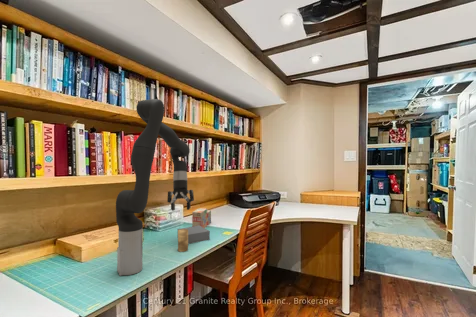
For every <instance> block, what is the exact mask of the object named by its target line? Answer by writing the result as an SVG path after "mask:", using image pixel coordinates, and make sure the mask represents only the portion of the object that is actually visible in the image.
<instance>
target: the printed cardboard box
mask: <svg viewBox="0 0 476 317" xmlns="http://www.w3.org/2000/svg"><path fill="white" fill-rule="evenodd" d="M191 215H192V217H191V227H193V226H201V227H203V228H205V229H206V228H207V227H208V226H209V225H210V224H212V210H211V209H210V210H209V209H207V208H201V207H200V208H197V209H195V210H194V211H192V214H191ZM207 225H208V226H207Z"/></svg>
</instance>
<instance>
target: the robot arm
mask: <svg viewBox="0 0 476 317" xmlns="http://www.w3.org/2000/svg"><path fill="white" fill-rule="evenodd" d="M136 113H137V114H138V116H139V118H140V119H141V120H142V121H143V122H145V124H146V126H145V128H144V129H143V131H142V132H141V133H140V135H139V136H138V137H137V138H136V139H135V140H134V143H133V145H132V149H131V153H130V162H131V165H132V169H133V171H134V174H135V185H134V189H124V190H122V191H121V190H120V192H119V193H118V194H117V196H116V200H115V214H116V215H115V216H116V217H115V219H116V224H117V227H118V244H117V245H118V247H117V249H116V250H117V251H116V252H117V254H116V260H117V263H116V270H117V273H118V275H119V277H120V276H132V275H135V274H138V273H140V272H141V271H142V270H143V265H144V264H143V254H144V253H143V250H144V249H143V248H144V246H143V236H144V235H143V234H144V232H143V231H144V230H143V229H144V228H143V226H144V223H143V220H142V219H140V218H138V217H137V216H136V215H135V214H141V213H143V211H144V210H145V209H146V207H147V205H148V200H149V192H150V191H149V189H150V181H151V180H150V179H151V173H152V169H153V168H152V167H153V163H154V158H155V153H156V147H157V142H158V136H160V138H161V139H162V141H164V143H165V144H166V145H167V146H168V147H169V148H170V150H169V152H170V157H171V159H172V163H173V165H172V166H173V175H172V176H173V178H172V179H173V180H172V183H173V184H172V186H173V188H172V189H173V191H170V190H169V191H167V203H170V210H171V211H172V212H174V211H175V210H176V204H175V202H176V201H177V200H180V199H181V200H182V199H184V200H185V201H186V210H187V211H188V210H191V203H192V202H194V200H195V197H194V190H193V189H189V190H188V171H187V170H188V169H187V168H188V167H187V161H186V160H185V161H184V160H180V158H185V157H188V156H190V152H191V151H190V150H191V149H190V146H189V145H188V144H187V143H186V142H184V141H183V140H182V139H181V138H179V136H178V135H177V133H176V132H175V131H174V130H173V128H171V127H170V126H169V125H167V124H165V123H164V122H163V120H164V116H165V104H164V102H163V101H162V100H161V99H159V98H151V99H142V100H140V101H138V102H137V105H136ZM188 194H189V195H188ZM172 196H173V197H172Z"/></svg>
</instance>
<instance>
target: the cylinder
mask: <svg viewBox="0 0 476 317" xmlns="http://www.w3.org/2000/svg"><path fill="white" fill-rule="evenodd" d="M179 229H180V230H178V229H177V236H178V238H177V251H178V252H180V253H184V252H188V250H189V244H188V230H187V229H181V228H179Z"/></svg>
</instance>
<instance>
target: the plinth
mask: <svg viewBox="0 0 476 317" xmlns="http://www.w3.org/2000/svg"><path fill="white" fill-rule="evenodd" d="M180 229H187V230H188V245H189V244H195V243H198V242H199V243H200V242H204V241H205V242H206V241H210V239H211V237H210V233H211V232H210V231H211V230H210V229H209V230H208V229H207V228H206V227H205V228H203V227H201V226H193V227H192V226H188V227H182V228H177V231H178V230H180ZM176 236H177V239H178V235H176Z"/></svg>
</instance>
